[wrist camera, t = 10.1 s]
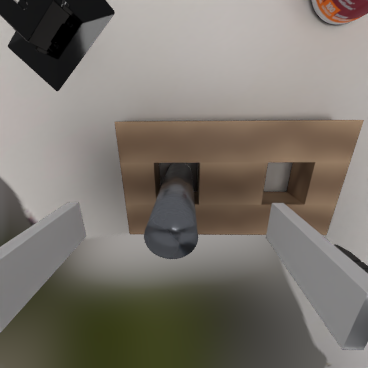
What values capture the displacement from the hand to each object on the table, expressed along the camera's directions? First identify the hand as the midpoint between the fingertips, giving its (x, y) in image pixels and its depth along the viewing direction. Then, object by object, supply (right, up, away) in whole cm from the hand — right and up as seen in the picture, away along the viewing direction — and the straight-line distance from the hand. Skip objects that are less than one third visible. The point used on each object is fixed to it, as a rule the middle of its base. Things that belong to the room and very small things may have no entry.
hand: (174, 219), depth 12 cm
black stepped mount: (-11, +17, +5) cm, 21 cm away
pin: (0, +4, +9) cm, 10 cm away
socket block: (+6, +4, +9) cm, 11 cm away
